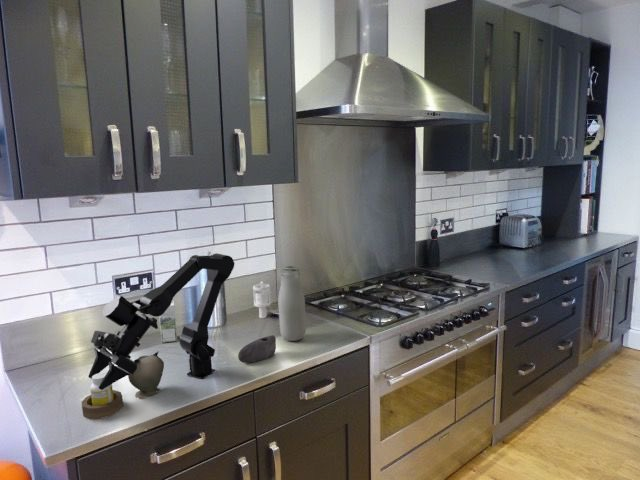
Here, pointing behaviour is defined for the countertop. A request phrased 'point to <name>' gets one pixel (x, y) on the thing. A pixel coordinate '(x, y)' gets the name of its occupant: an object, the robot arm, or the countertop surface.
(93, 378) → the supplement bottle
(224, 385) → the countertop surface
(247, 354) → the perforated stone tool
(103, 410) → the walnut ring socket
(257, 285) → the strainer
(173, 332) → the syrup box
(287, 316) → the grey bottle vase
